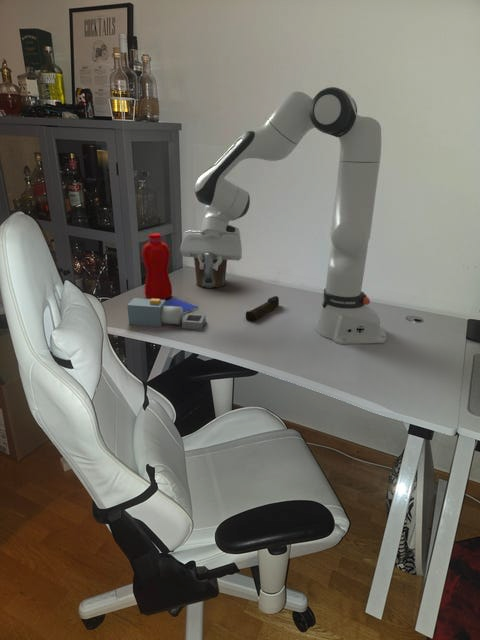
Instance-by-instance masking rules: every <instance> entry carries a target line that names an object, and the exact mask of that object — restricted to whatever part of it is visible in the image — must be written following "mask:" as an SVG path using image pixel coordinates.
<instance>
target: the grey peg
mask: <svg viewBox="0 0 480 640" xmlns="http://www.w3.org/2000/svg"><path fill="white" fill-rule="evenodd" d="M212 266H213V253H212V252H206V253H205V276H204V281H203V286H204V287H206V288H207V289H213V288H215V287H214V281H213V269H212ZM204 287H203V288H204ZM212 287H213V288H212ZM206 288H205V289H206Z"/></svg>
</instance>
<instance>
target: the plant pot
mask: <svg viewBox="0 0 480 640" xmlns="http://www.w3.org/2000/svg"><path fill="white" fill-rule="evenodd" d="M192 258H193V260H194V261H193V262H194V270H195V271H194V273H195V279H196V284H197V286H199V287H201V288H205V289H206V287H204V286H203V281H204V276H205V269H200V262H199V260H198V258H196V257H192ZM201 261H202V262H203V263H205V258H203V260H201ZM217 261H218V259H213V263H216V262H217ZM227 265H228V260H223V259H222V263H221V264H220V265H219V266H218V269H217V270H213V281H214V287H212V288H211V289H213V288H220V287H223V286H224V285H225V284H226V277H227V276H226V275H227Z"/></svg>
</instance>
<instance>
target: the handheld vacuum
mask: <svg viewBox="0 0 480 640" xmlns="http://www.w3.org/2000/svg"><path fill="white" fill-rule="evenodd" d="M166 301H167V300H166V299H165V300H160V299H153V298H152V299H148V298H139V297H137V298H136V297H133V299H132V300H130V302H128V303H127V306H126V307H127V314H128V324H129V325H133V326H148V327H149V326H150V327H162V326H163V324H164V325H165V324H166V325H176V326H177V325H179V326H181V329H184V330H186V329H188V330H200V331H201V330H203V328H204V326H205V323H206V320H207V319H206V314H198V313H186V314H184V315H185V316H184V315H183V309H182V307H176V306H166Z"/></svg>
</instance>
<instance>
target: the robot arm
mask: <svg viewBox="0 0 480 640" xmlns="http://www.w3.org/2000/svg"><path fill="white" fill-rule="evenodd" d="M313 129H316V130H318V131H319V132H321V133H324V134H326V135H330V136H332V137H335V138H338V140H339V143H340V150H339V151H340V153H339V161H338V169H337V170H338V171H337V181H336V190H335V195H334V196H335V197H334V202H333V203H334V204H333V212H332V218H331V219H332V220H331V226H330V227H331V228H330V241H331V246H330V254H329V258H328V259H329V260H328V264H327V273H326V284H325V288H324V289H323V293H322V302H321V305H322V309H321V313H320V317H319V319H318V322H317V323H316V327H315V331H316V332H317V333H318V334H319V335H320V336H322V337H324V338H327V339H330V340H332V341H333V342H335V343H336V344H340V345H343V344H344V345H346V344H347V345H348V344H349V345H350V344H351V345H353V344H355V345H356V344H358V345H359V344H360V345H361V344H384V343H385V342H386V341H387V332H386V331H385V329H384V328H383V326H381V320H380V317H379V315H378V314H377V312H376V311H375V310H374V309H372V307H370V306H369V305H370V303H371V300H370V298H369V297H368V296H367V294H365V292H364V291H362V288H363V282H364V281H363V280H364V274H365V269H366V261H367V254H368V247H369V241H370V238H371V233H372V232H371V231H372V226H373V225H372V224H373V216H374V215H373V214H374V210H375V209H374V207H375V201H376V193H377V187H378V186H377V185H378V179H379V172H380V163H381V155H382V127H381V124H380V122H379V121H378V120H377V119H375V118H373V117H369V116H361V115H359V114H358V107H357V104H356V101H355V99H354V98H353V96H352V95H351V94H350V93H348V92H347V91H346V90H344V89H343V88H342V89H341V88H339V87H336V86H335V87H334V86H329V87H326V88H323V89H322V90H320V91H319V92H318V93H316V94H315V96H314V97H313V98H312V97H311V96H310V95H308V94H307V93H305V92H302V91H298V90H297V91H293V92H291V93H290V94H288V95H287V96H286V98H284V100H282V101H281V102H280V104H279V105H278V106H277V107H276V109H275V110H274V111H273V112H272V113H271V114H270V116H269V117H268V118H267V120H266V121H265V122H264V123H263V124H262V125H261V126H260V127H258V128H257V129H255V130H248V131H246V132H244V133H243V134H241V135H240V136H239V137H238V138H237V139H235V141H234V142H233V143H232V144H231V145H230V146H229V148H227V150H226V151H225V152H224V153H222V155H221V156H220V157H219V158H218V159H217V160H216V161H215V162H214V164H213V165H211V166H210V167H209V168H208V169H206V170H205V171H204V172H203V173H202V174H201V175H200V176H199V177H198V179H197V181H196V182H195V184H194V194H195V197H196V199H197V201H198V202H199V203H201V204H204V205H205V207H204V212H203V213H204V218H203V220H202V223H201V230H187V231H185V232H183V234H182V238H181V240H182V241H181V244H180V248H179V251H180V254H181V255H182V257H185V258H193V257H196V258H198V260H199V262H200V269H205V263H203V262H202V261H201V260H203V258H205V253H206V252H212V253H213V259H218V261H217V262H216V263H213V266H212V269H213V270H217V269H218V266H219V265H220V264H221V263H222V259H223V260H227V261H240V260H241V259H242V256H243V248H242V247H243V246H242V241H241V232H240V228H239V227H236V226H233V225H230V224H229V222H230V221H232V222H233V221H235V220H238V219H240V218H242V217H244V216H245V215H246V214H247V213H248V211H249V209H250V204H251V203H250V202H251V199H250V197H251V196H250V194H249V192H248V191H247V190H245V189H244V188H243V187H240V186H238V185H237V184H235V183H233V182H231V181H229V180H228V179H226V176H227V175H229V173H231V171H232V170H234V168H235V167H236V166H237V165H238V164H240V162H241V161H243V160H246V159H258V160H264V161H269V162H278V161H281V160H284V159H285V158H288V156H289V155H290V154H291V153H292V152H293V151H294V150H295V148H296V147H297V146H298V144H299V143H300V142H301V141H302V139H303V138H304V137H305V135H306V134H307V133H308V132H310V131H311V130H313Z"/></svg>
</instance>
